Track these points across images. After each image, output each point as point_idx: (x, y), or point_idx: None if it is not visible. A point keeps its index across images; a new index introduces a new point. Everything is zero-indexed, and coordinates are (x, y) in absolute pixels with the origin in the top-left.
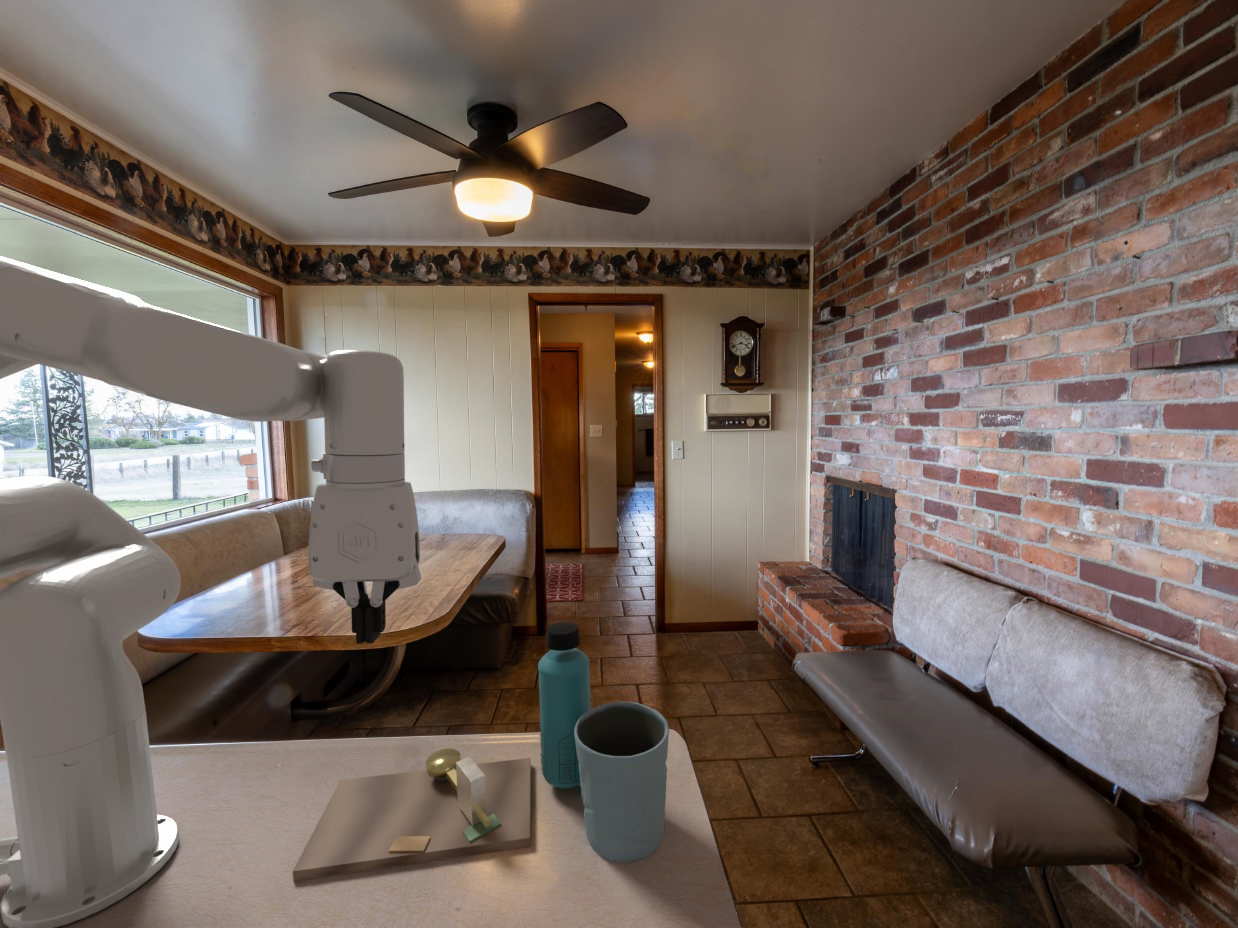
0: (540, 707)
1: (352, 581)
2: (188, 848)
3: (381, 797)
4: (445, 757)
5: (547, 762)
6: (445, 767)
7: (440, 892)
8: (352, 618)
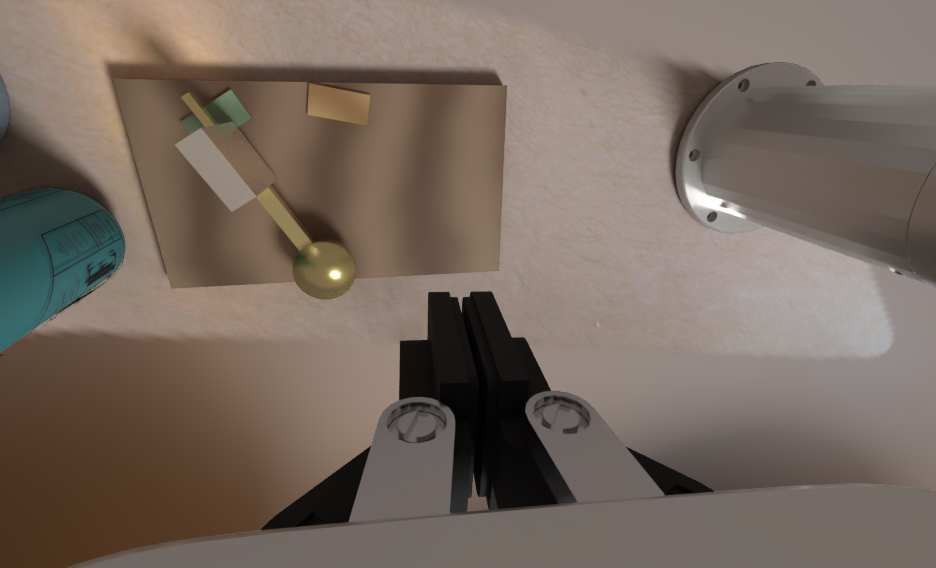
0: (16, 282)
1: (615, 500)
2: (659, 175)
3: (421, 222)
4: (321, 275)
5: (77, 217)
6: (313, 249)
7: (263, 8)
8: (536, 369)
